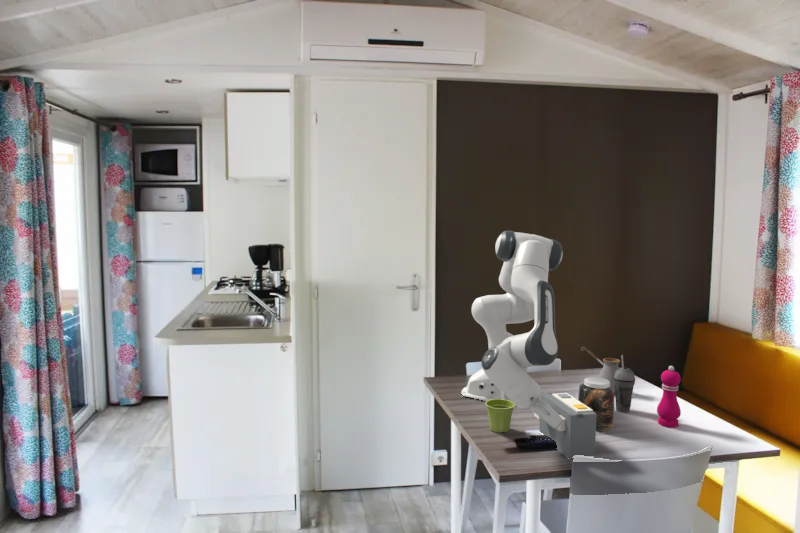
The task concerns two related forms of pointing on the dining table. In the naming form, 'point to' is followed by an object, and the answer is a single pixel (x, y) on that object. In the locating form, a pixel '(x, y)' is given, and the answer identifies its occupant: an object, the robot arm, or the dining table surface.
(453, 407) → the dining table surface
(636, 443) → the dining table surface
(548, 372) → the dining table surface
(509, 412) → the plant pot
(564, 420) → the button
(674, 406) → the pepper mill
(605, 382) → the jar
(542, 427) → the console
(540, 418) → the button
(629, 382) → the beverage cup
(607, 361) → the coffee pot
